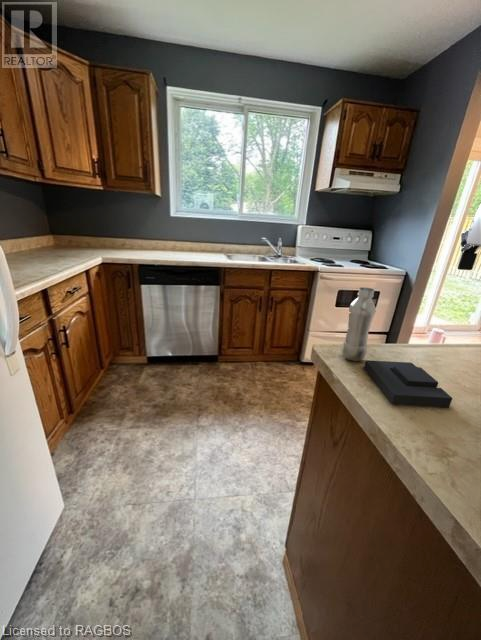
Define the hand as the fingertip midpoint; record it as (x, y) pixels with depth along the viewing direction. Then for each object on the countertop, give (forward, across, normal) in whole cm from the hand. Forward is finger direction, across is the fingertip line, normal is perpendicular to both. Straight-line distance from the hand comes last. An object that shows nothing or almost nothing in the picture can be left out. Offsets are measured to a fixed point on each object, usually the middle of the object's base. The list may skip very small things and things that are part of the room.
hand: (480, 273), depth 61 cm
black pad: (+26, -7, +13) cm, 30 cm away
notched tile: (+26, -7, +15) cm, 31 cm away
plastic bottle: (+26, +6, +22) cm, 35 cm away
